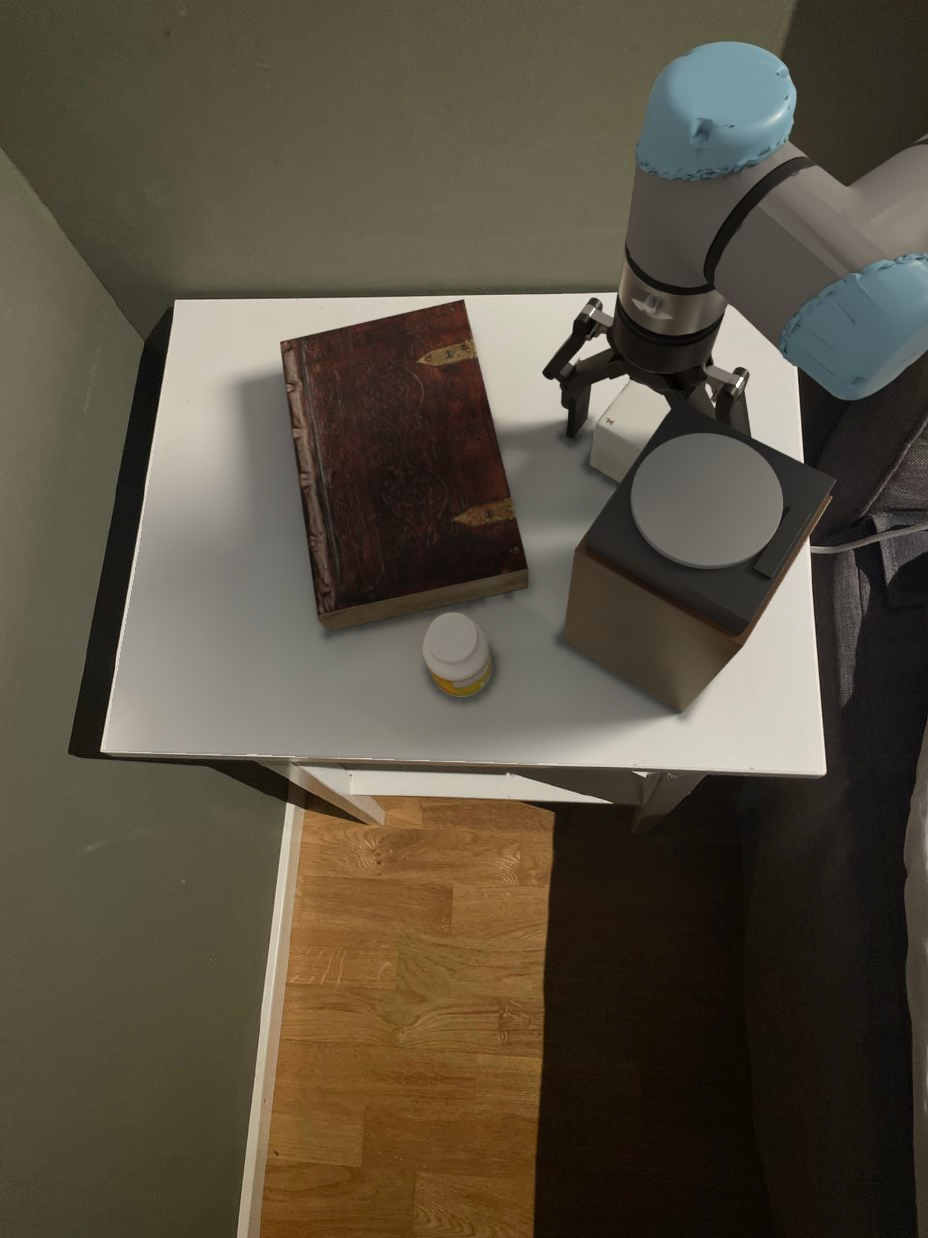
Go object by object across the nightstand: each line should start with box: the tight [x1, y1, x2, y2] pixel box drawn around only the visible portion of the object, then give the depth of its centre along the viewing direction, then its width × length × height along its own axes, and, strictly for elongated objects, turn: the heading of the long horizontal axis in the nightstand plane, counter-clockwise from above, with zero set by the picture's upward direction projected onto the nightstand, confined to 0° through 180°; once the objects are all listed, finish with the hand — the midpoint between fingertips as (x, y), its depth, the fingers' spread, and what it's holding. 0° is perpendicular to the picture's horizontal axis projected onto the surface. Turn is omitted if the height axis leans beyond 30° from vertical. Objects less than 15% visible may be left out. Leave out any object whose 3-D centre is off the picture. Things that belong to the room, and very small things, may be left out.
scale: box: [585, 400, 837, 635], centre depth 49 cm, size 11×11×3 cm
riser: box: [562, 416, 833, 713], centre depth 60 cm, size 12×12×20 cm
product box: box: [589, 379, 671, 484], centre depth 71 cm, size 6×6×7 cm
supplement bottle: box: [422, 611, 493, 698], centre depth 64 cm, size 5×5×10 cm
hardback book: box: [279, 298, 530, 632], centre depth 73 cm, size 29×19×5 cm, turn 11°
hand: (633, 457), depth 74 cm, fingers open, 12 cm apart
